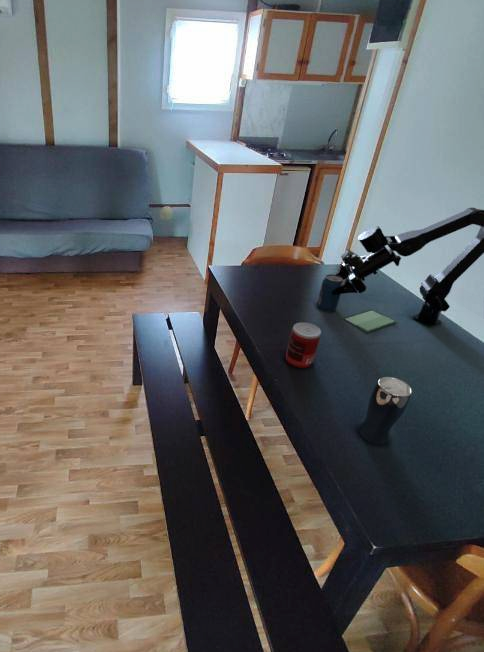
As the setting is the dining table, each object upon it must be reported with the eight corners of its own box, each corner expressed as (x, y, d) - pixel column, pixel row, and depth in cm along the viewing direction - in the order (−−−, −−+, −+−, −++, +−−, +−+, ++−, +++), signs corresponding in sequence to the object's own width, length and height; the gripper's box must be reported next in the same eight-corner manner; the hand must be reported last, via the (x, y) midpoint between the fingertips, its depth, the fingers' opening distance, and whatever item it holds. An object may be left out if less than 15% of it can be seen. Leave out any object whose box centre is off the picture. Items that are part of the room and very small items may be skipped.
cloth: (371, 311, 147) (372, 309, 147) (394, 322, 140) (395, 321, 140) (344, 319, 142) (345, 318, 141) (367, 332, 135) (367, 330, 135)
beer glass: (351, 425, 99) (370, 376, 91) (378, 423, 99) (400, 375, 91) (366, 447, 93) (389, 397, 85) (395, 445, 94) (420, 396, 85)
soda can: (339, 309, 148) (349, 279, 141) (328, 314, 144) (337, 283, 138) (323, 301, 153) (331, 272, 146) (311, 306, 149) (319, 276, 143)
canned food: (312, 356, 123) (321, 324, 117) (312, 371, 117) (321, 339, 111) (285, 350, 125) (293, 320, 119) (284, 365, 119) (292, 333, 113)
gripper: (356, 234, 142) (315, 261, 150) (367, 254, 126) (320, 282, 135) (373, 258, 144) (332, 283, 153) (385, 280, 129) (339, 306, 137)
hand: (330, 287), depth 144 cm, fingers open, 9 cm apart
